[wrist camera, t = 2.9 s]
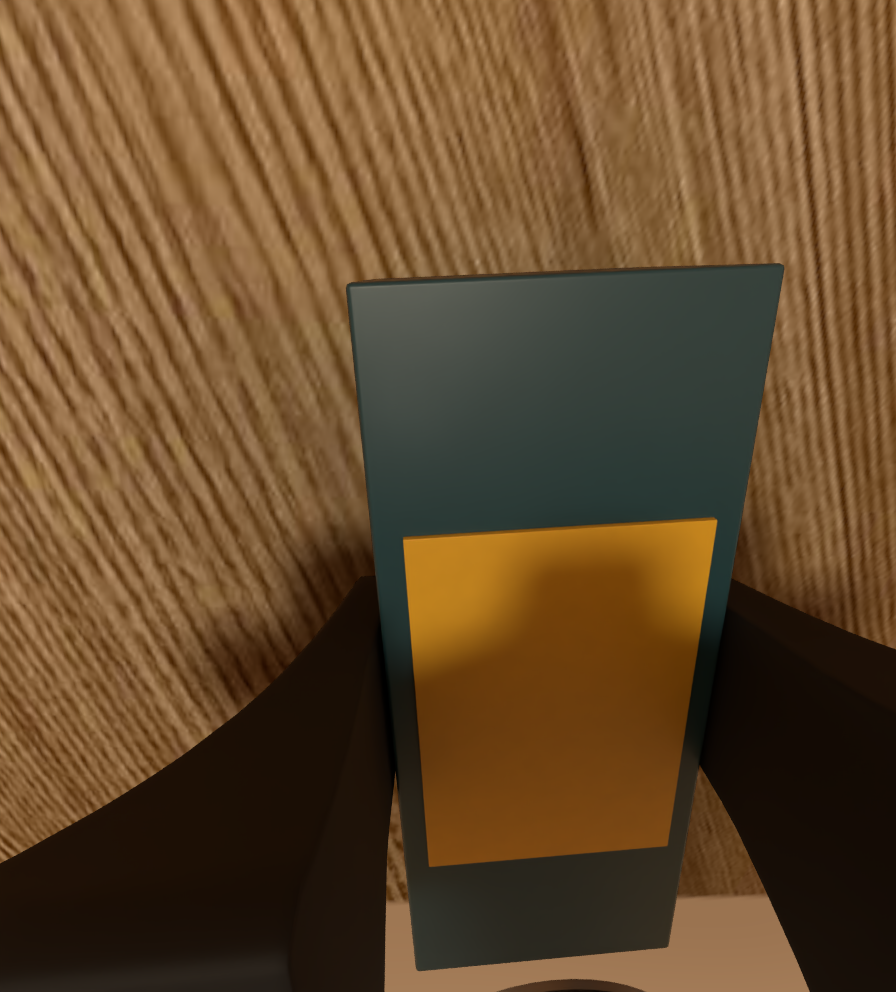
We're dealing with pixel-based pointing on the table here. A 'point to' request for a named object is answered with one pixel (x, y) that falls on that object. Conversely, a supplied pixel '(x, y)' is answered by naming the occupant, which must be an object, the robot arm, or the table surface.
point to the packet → (554, 583)
